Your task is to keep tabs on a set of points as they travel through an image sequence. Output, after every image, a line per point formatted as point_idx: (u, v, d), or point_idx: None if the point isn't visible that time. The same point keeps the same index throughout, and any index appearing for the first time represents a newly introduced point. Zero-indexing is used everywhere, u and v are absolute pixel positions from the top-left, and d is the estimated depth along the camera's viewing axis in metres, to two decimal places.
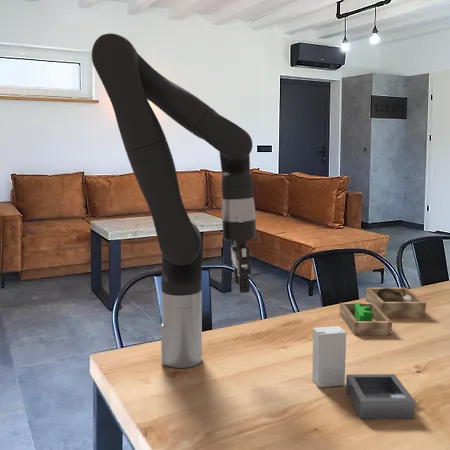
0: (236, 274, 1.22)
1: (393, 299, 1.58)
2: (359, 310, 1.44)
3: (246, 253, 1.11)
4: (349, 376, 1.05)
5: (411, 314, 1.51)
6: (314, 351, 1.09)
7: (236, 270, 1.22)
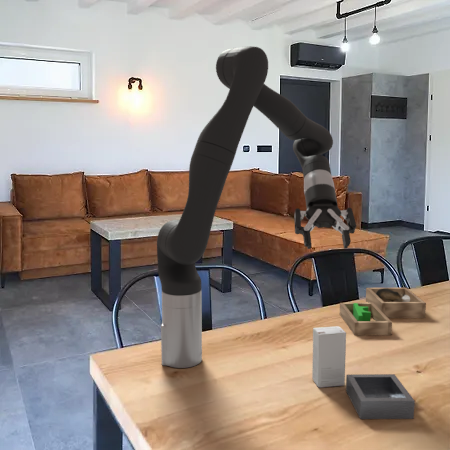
0: None
1: (392, 299, 1.58)
2: (357, 310, 1.44)
3: None
4: (349, 376, 1.05)
5: (411, 314, 1.51)
6: (314, 351, 1.09)
7: None
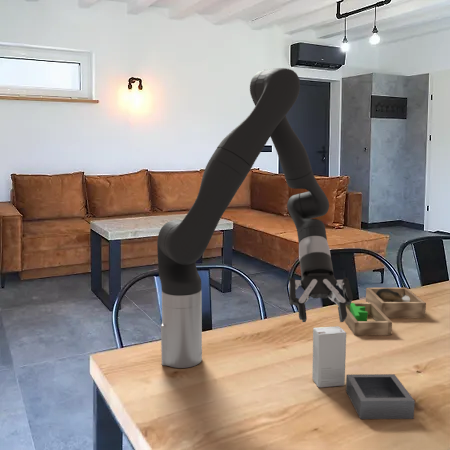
0: None
1: (392, 300, 1.58)
2: (354, 310, 1.44)
3: None
4: (349, 376, 1.05)
5: (411, 314, 1.51)
6: (314, 351, 1.09)
7: None
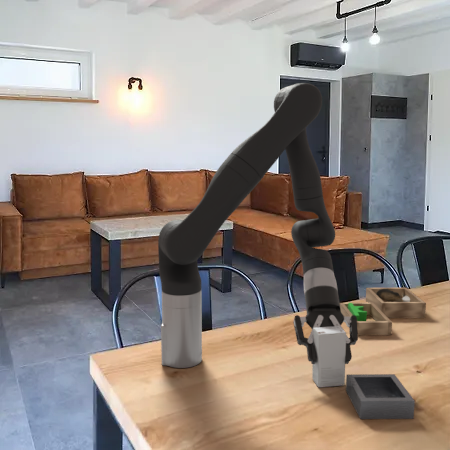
0: None
1: (392, 300, 1.57)
2: (353, 310, 1.44)
3: None
4: (349, 376, 1.05)
5: (411, 314, 1.51)
6: None
7: None
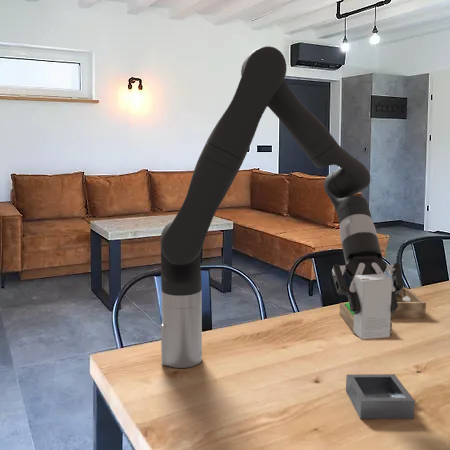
0: None
1: None
2: None
3: None
4: (349, 376, 1.05)
5: (411, 314, 1.51)
6: None
7: None
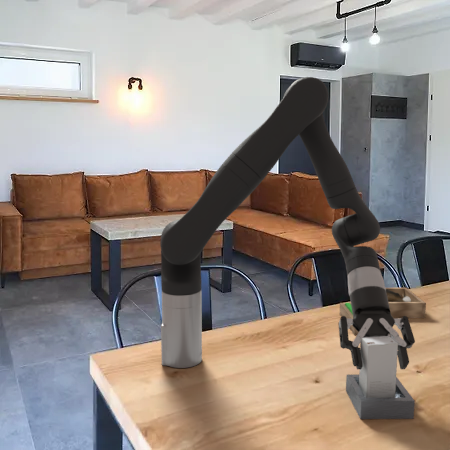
0: None
1: (393, 300, 1.57)
2: None
3: None
4: (349, 376, 1.05)
5: (411, 314, 1.51)
6: None
7: None
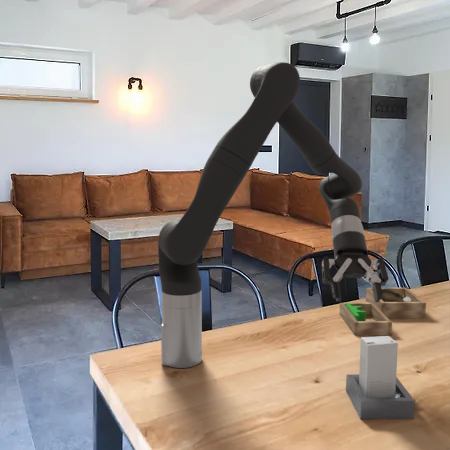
0: None
1: (393, 301, 1.57)
2: (352, 310, 1.44)
3: None
4: (349, 376, 1.05)
5: (411, 314, 1.51)
6: (361, 363, 1.01)
7: None
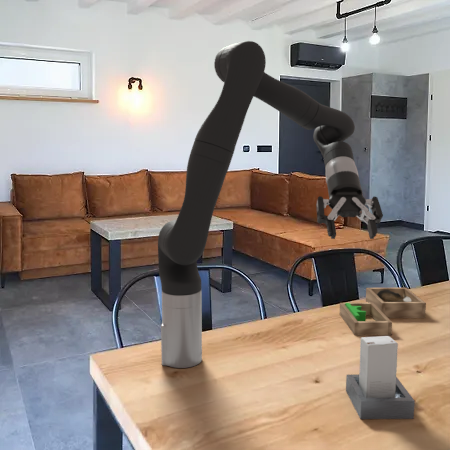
0: None
1: (393, 301, 1.56)
2: (352, 310, 1.44)
3: None
4: (349, 376, 1.05)
5: (411, 314, 1.51)
6: (361, 363, 1.01)
7: None
